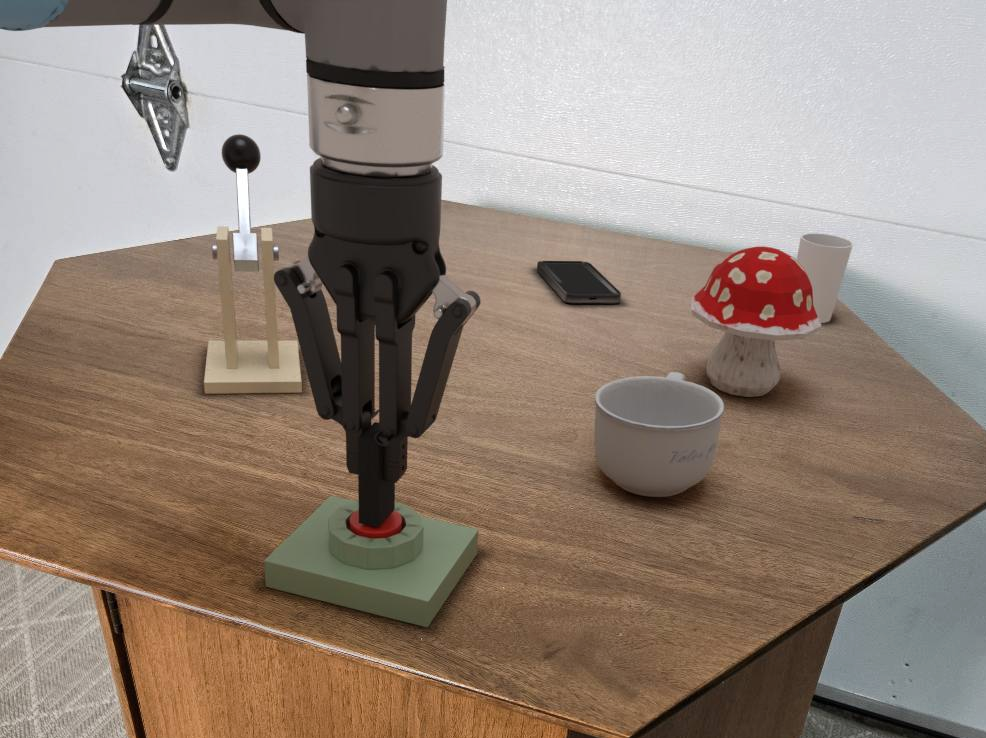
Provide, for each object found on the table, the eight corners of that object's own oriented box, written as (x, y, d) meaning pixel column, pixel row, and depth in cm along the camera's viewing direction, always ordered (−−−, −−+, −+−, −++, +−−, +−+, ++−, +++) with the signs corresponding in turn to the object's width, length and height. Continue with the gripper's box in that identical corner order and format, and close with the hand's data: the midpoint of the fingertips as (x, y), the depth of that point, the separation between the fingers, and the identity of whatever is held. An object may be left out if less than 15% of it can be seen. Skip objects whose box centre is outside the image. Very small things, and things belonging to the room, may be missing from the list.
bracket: (209, 351, 102) (196, 216, 95) (297, 351, 105) (292, 219, 97) (204, 394, 93) (190, 248, 86) (301, 392, 96) (295, 251, 88)
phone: (588, 261, 139) (623, 294, 127) (587, 269, 140) (622, 303, 128) (534, 260, 137) (565, 294, 125) (534, 268, 138) (564, 303, 126)
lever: (222, 146, 96) (219, 125, 92) (260, 148, 97) (259, 127, 93) (228, 274, 94) (225, 257, 90) (266, 274, 95) (265, 258, 91)
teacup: (680, 524, 80) (697, 436, 76) (563, 485, 84) (573, 399, 80) (736, 463, 91) (753, 383, 87) (630, 430, 95) (642, 352, 91)
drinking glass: (824, 327, 127) (843, 250, 122) (776, 314, 130) (793, 238, 125) (841, 316, 132) (860, 241, 127) (794, 304, 135) (811, 230, 130)
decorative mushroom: (650, 374, 108) (671, 236, 100) (736, 354, 116) (762, 225, 108) (743, 422, 99) (775, 275, 91) (830, 397, 107) (866, 260, 99)
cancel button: (341, 546, 68) (340, 525, 67) (363, 522, 71) (363, 501, 70) (389, 558, 68) (389, 536, 67) (409, 533, 71) (409, 512, 70)
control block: (265, 586, 68) (262, 537, 66) (331, 519, 76) (330, 474, 74) (427, 628, 65) (429, 578, 63) (477, 554, 74) (480, 508, 72)
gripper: (239, 155, 54) (265, 521, 67) (461, 189, 52) (445, 564, 64) (304, 136, 60) (316, 474, 73) (505, 166, 58) (482, 511, 70)
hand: (376, 516), depth 68 cm, fingers closed
